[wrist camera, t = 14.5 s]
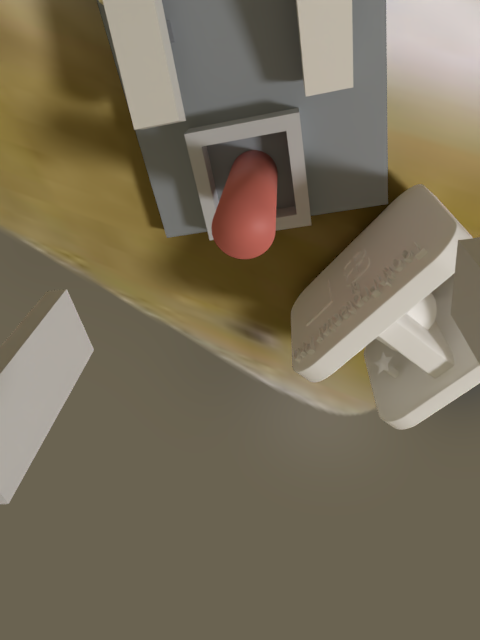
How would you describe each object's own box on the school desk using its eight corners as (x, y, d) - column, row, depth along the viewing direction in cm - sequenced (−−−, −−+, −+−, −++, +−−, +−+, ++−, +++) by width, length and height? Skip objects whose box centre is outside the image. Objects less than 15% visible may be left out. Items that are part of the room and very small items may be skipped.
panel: (85, -65, 28) (62, -75, 25) (379, -147, 25) (391, -170, 22) (170, 230, 39) (161, 247, 36) (384, 197, 36) (393, 213, 33)
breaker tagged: (96, -50, 27) (82, -63, 25) (148, -64, 26) (137, -79, 24) (139, 129, 30) (129, 130, 29) (185, 120, 30) (179, 120, 28)
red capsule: (226, 154, 33) (204, 203, 24) (273, 146, 33) (270, 193, 24) (235, 201, 35) (218, 263, 26) (280, 193, 35) (279, 254, 26)
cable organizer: (365, 355, 45) (388, 446, 35) (284, 297, 42) (285, 379, 32) (497, 248, 37) (572, 326, 28) (411, 168, 34) (461, 224, 25)
